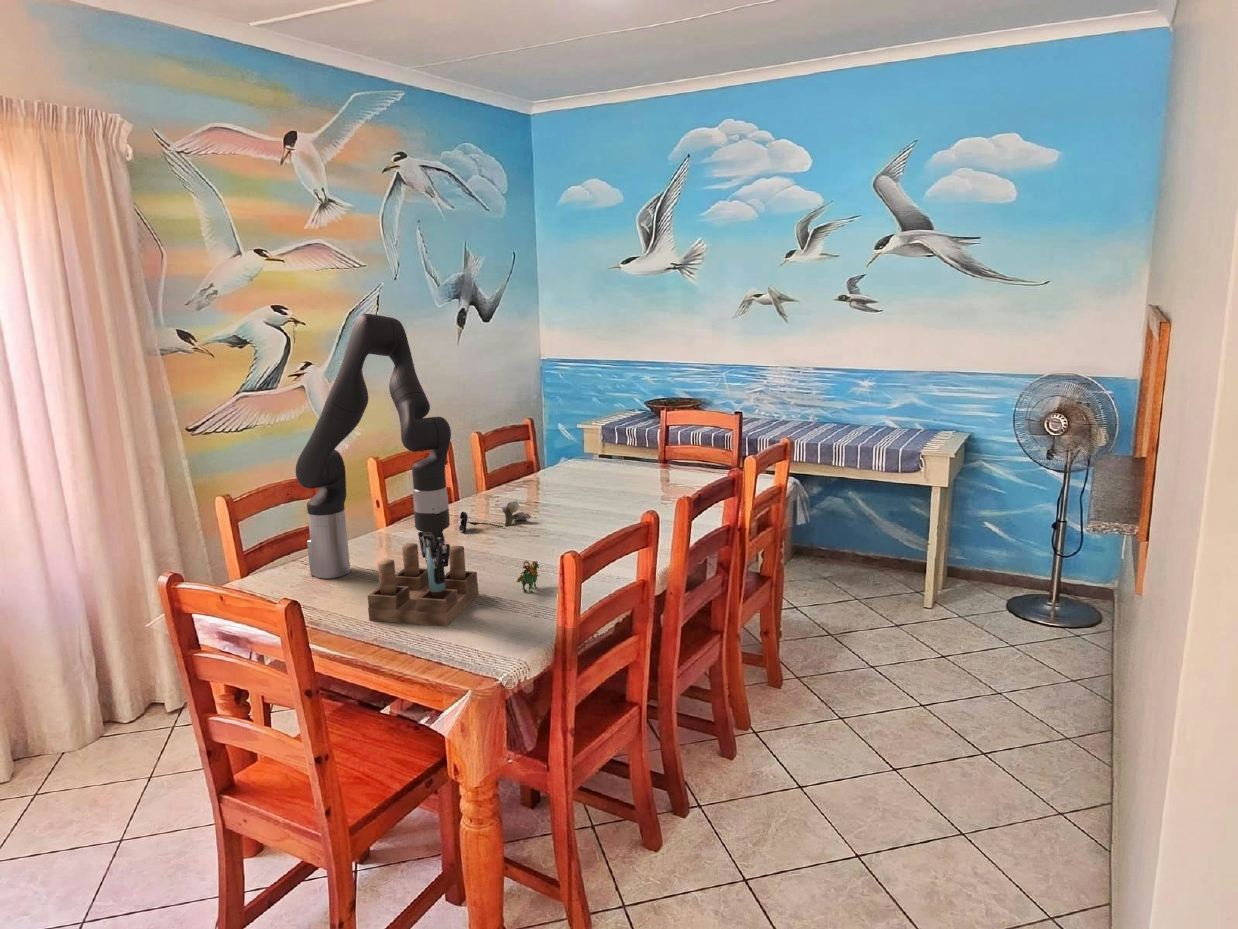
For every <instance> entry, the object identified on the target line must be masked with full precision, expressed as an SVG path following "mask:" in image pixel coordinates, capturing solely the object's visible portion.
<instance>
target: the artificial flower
mask: <svg viewBox="0 0 1238 929" xmlns="http://www.w3.org/2000/svg"><path fill="white" fill-rule="evenodd" d="M519 508H520V505H519V502H518V501H517V500H513V501H512V502H508V503H507V505H506V506H501V510H502V513H503V514H504V516H505V523H504V525H499V524H494V523H489V522H475V521H473V522H472V521H468V518H469V517H468V514H467V512H466V511H464V510H463V511H460V512H461V513H460V516H459V518H460V519H461V520H460V524H459V526H458V527H459V528H458V530H459V532H461V533H462V532H463V533H464V532H465V533H466V532H467V526H468V525H467V524H470V525H472V526H473V525H474V526H478V525H486V526H487V525H488V526H493V527H498V528H504V527H503V526H506V527H507V526H510V525H512V523H513V520H514V521H527V520H528V519H531V517H532V515H530V513H525V512H524V511H519V510H520V509H519ZM518 511H519V512H518Z"/></svg>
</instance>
